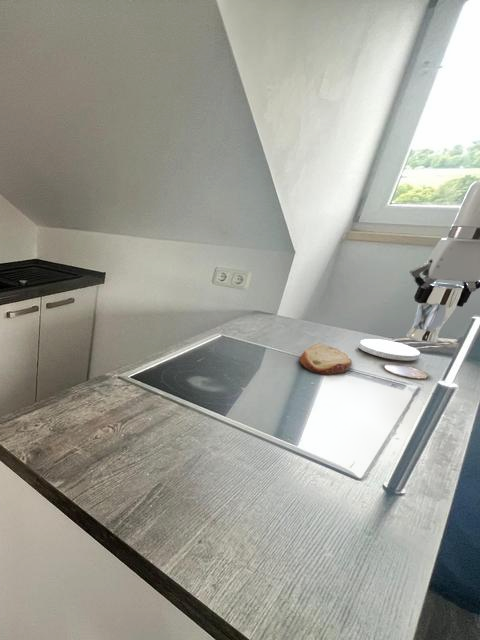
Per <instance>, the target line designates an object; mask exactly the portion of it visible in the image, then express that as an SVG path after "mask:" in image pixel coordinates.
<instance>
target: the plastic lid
mask: <svg viewBox="0 0 480 640" xmlns="http://www.w3.org/2000/svg"><path fill="white" fill-rule="evenodd" d="M358 348H359V349H360V350H361V351H363V352H366V353H367V354H370V355H373V356H377V357H381V358H384V359H390V360H395V361H396V360H397V361H406V362H407V361H416V360H418V359H419V358H420V356H421V351H420V350H419V349H418V348H415V347H413V346H410V345H408V344H404V343H402V342H397V341H393V340H387V339H380V338H364V339H361V340H359V344H358Z"/></svg>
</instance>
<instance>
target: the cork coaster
mask: <svg viewBox="0 0 480 640" xmlns="http://www.w3.org/2000/svg"><path fill="white" fill-rule="evenodd" d="M383 369H384V370H385V371H387V372H388V373H390V374H392V375H395V376H398V377H402V378H407V379H412V380H425V379H427V378H428V377H429V376H428V374H427V372H424V371H423V370H421V369H417V368H415V367H412V366H408V365H404V364H403V365H402V364H393V363H392V364H391V363H390V364H385V365H384V367H383Z"/></svg>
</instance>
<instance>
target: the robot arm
mask: <svg viewBox="0 0 480 640" xmlns="http://www.w3.org/2000/svg"><path fill="white" fill-rule="evenodd" d="M408 273H409V275H410V276H411V278H412V280H413V281H414V282H415V284H416V285H417V290H416V292H415V294H414V296H413V298H414V301H415V302H416V303H418V304H419V303H424V301H425V299H426V296H427V294H428V292H429V289H428V287H429V286H430V285H431V284H432V283H433V282H436V281H438V280H441V281H454V282H461V283H462V286H463V287H465V288H464V290H463V293H462V296H461V299H460V301H459V303H458V305H457V307H459V308H463V307H464V305H465V304H466V303H467V302H468V300H469V299H470V297H471V294H472V293H474V292H475V291H477V290H478V289H480V179H479V180H475V181H474V182H472V183H471V185H470V186H469V188H468V190H467V192H466V194H465V196H464V199H463V201H462V203H461V205H460V207H459V210H458V212H457V214H456V217H455V218H454V220H453V223H452V225H451V227H450V229H449V232H448V234H447V236H446V237H443V238H441V239H440V240H439V241H438V242H437V244H436V245H435V247H434V248H433V250H432V251H431V253H430V255H429V256H428V258H427V259H426V262H425V263H424V264H422V265H420V266H418V267H415V268H413V269H411V270H409V272H408ZM421 275H423V276H424V277H421Z"/></svg>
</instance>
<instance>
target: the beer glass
mask: <svg viewBox="0 0 480 640" xmlns="http://www.w3.org/2000/svg"><path fill="white" fill-rule="evenodd" d="M464 288H465V287H463V285H460V284H455V283H449V282H448V283H447V282H436V281H435V282H433V283H432V284H431V285H430V286H429V287H428V289H429V292H428V294H427V296H426V299H425V301H424V303H418V304H417V308H416V313H415V317H414V322H413V324H412V326H411V328H410V329H409V331H408V332H407V333H406V335H405V337H406V338H408V339H410V340H413V341H416V342H422V343H429V344H430V343H431V344H432V343H433V344H434V343H437V342H438V340H439V339H438V338H439V333H440V332H441V329H442V327H443V326H444V325H445V324H446V322H447V321H448V319H449V318H450V317H451V316H452V314H453V313H454V312H455V310H456V308H457V307H458V306H457V305H458V303H459V301H460V299H461V296H462V293H463V290H464Z"/></svg>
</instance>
